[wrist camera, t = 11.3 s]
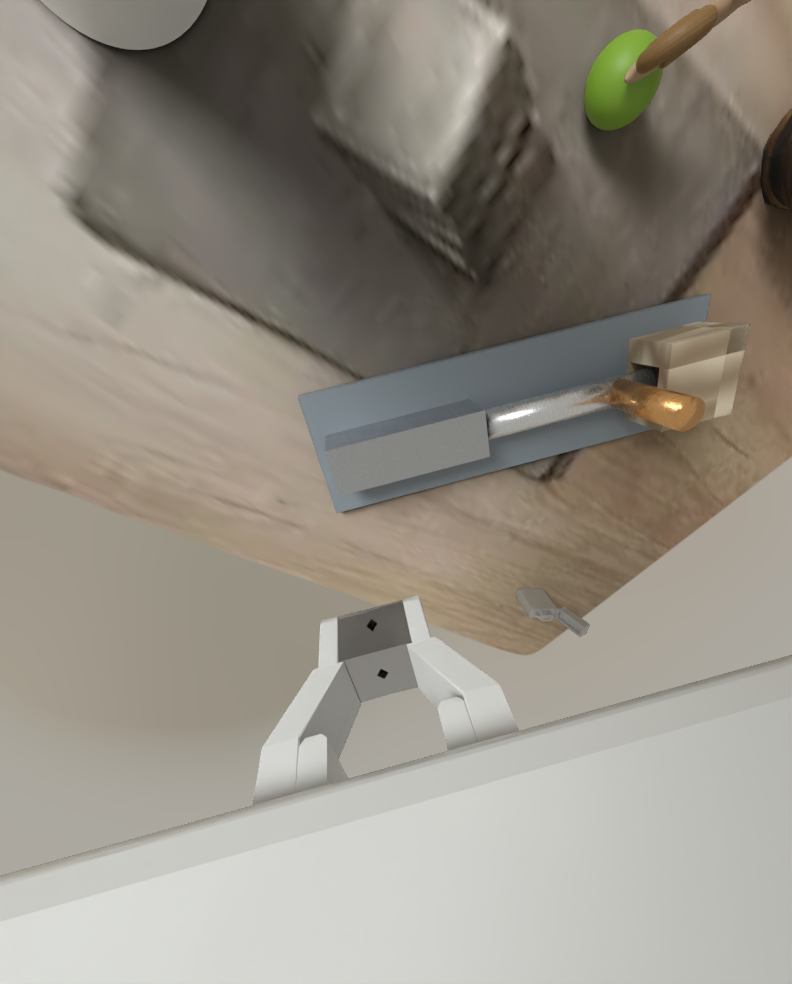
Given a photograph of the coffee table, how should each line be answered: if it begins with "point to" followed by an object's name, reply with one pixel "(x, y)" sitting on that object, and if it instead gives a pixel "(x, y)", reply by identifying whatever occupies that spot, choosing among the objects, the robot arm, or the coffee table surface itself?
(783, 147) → the ceramic jug
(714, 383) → the birch socket
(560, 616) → the lighter
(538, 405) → the bolt with orange handle
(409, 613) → the robot arm
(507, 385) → the slate board
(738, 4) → the snail figurine
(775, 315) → the coffee table surface
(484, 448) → the grey sleeve
